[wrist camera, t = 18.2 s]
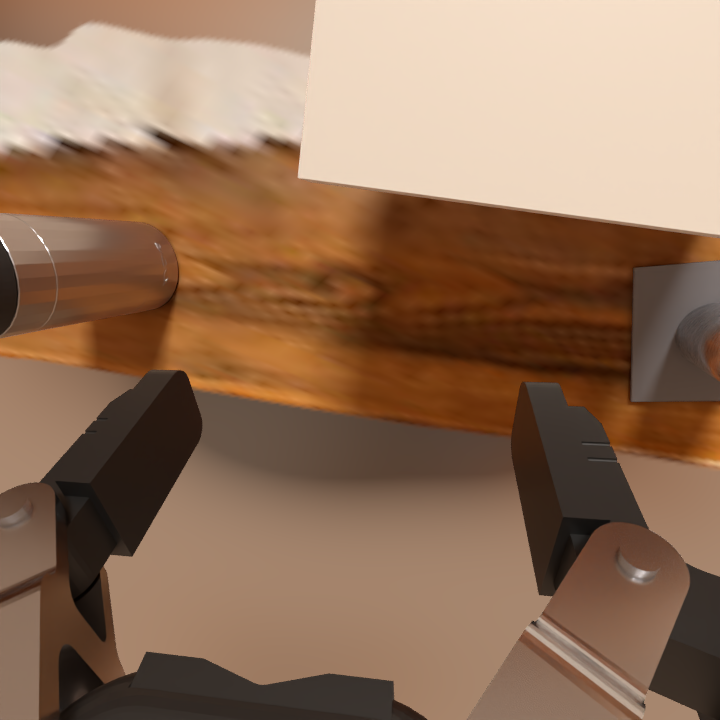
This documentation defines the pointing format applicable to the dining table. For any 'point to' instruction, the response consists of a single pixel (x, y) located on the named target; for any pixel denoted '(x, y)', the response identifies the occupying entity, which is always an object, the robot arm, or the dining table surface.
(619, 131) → the white c-shaped side table
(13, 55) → the dining table surface
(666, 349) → the rubber mat
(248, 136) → the dining table surface
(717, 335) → the pale cylinder
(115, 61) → the dining table surface
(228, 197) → the dining table surface
